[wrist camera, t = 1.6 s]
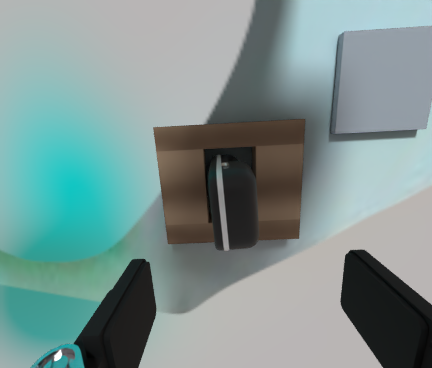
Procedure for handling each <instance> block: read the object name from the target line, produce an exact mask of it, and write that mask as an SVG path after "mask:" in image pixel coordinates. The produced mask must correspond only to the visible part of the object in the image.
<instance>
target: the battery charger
mask: <svg viewBox="0 0 432 368" xmlns="http://www.w3.org/2000/svg"><path fill="white" fill-rule="evenodd" d="M208 188H209V198H210V207H211V215H212V224H213V233H214V241H215V246H216V249H217V250H224V251H229V250H230V249H242V248H249V247H252V246H254V245H255V244H256V243H257V242H258V239H259V219H258V201H257V184H256V178H255V176H254V173H253V171H252V170H251V168H250V166H249V165H248V164H247V163H246V162H243V161H238V160H237V158H236V157H235V156H232V155H221V154H219V155H217V156H213V157H212V161H211V164H210V168H209V174H208Z"/></svg>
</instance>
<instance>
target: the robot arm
mask: <svg viewBox="0 0 432 368" xmlns="http://www.w3.org/2000/svg"><path fill="white" fill-rule="evenodd" d="M341 306H342V309H343V310H344V312H345V313H346V314H347V316H348V318H349V319H350V321H351V322H352V323H353V325H354V326H355V327H356V329H357V331H358V332H359V333H360V335H361V336H362V338H363V339H364V341H365V342H366V343H367V345H368V347H369V348H370V349H371V351H372V352H373V353H374V355H375V357H376V358H377V359H378V361H379V362H380V364H381V365H382V367H383V368H432V305H431V304H430V303H429V302H427V301H426V300H425V299H424V298H422V297H421V296H420V295H419V294H418V293H417V292H415V291H414V290H413V289H412V288H410V287H409V286H408V285H407V284H406V283H404V282H403V281H402V280H401V279H399V278H398V277H397V276H396V275H395V274H393V273H392V272H391V271H390V270H389V269H387V268H386V267H385V266H384V265H382V264H381V263H380V262H379V261H378V260H376V259H375V258H373V256H371V255H370V254H369V253H368V252H366V251H365V250H350V251H349V253H348V254H346V255H345V263H344V272H343V282H342V292H341ZM155 316H156V303H155V296H154V289H153V283H152V276H151V269H150V263H149V262H146V260H145V259H133V260H132V261H131V262H130V263H129V265H128V266H127V268H126V269H125V271H124V273H123V274H122V276H121V277H120V279H119V280H118V282H117V283H116V285H115V286H114V288H113V289H112V290H110V291H109V292H108V293H107V295H106V296H105V298H104V299H103V301H102V302H101V304H100V305H99V307H98V308H97V310H96V311H95V313H94V314H93V316H92V317H91V319H90V320H89V322H88V323H87V325H86V326H85V327H84V329H83V330H82V332H81V334H80V335H79V336H78V338H77V339H76V341H75V342H74V344H64V345H60V346H58V347H56V348H53V349H51V350H50V351H48V352H47V353H45V354H44V355H43V356H41V357H40V358H39V359H38V360H37V361H36V362H35V363H34V364H33V365H32V366H31V368H138V367H139V364H140V361H141V358H142V355H143V352H144V349H145V346H146V343H147V340H148V337H149V334H150V331H151V328H152V325H153V322H154V319H155Z"/></svg>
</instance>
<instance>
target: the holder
mask: <svg viewBox="0 0 432 368" xmlns="http://www.w3.org/2000/svg"><path fill="white" fill-rule="evenodd" d="M153 129H154V137H155V144H156V152H157V160H158V168H159V176H160V184H161V192H162V200H163V207H164V215H165V223H166V231H167V239H168V244H183V243H207V242H215V241H214V233H213V224H212V215H211V213H209V200H208V185H207V171H206V156H205V149H215V148H233V147H252V171H253V173H254V176H255V178H256V184H257V201H258V219H259V239H258V240H277V239H299V228H300V209H301V190H302V171H303V152H304V133H305V119H294V120H276V121H258V122H241V123H223V124H205V125H189V126H171V127H154V128H153Z"/></svg>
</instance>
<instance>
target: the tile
mask: <svg viewBox="0 0 432 368" xmlns="http://www.w3.org/2000/svg"><path fill="white" fill-rule="evenodd" d="M431 102H432V26H421V27H406V28H391V29H376V30H361V31H346V32H343V33H342V34H340V35H339V41H338V53H337V65H336V77H335V89H334V101H333V112H332V124H331V134H342V133H360V132H379V131H397V130H415V129H426V128H427V122H428V117H429V112H430V107H431Z"/></svg>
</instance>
